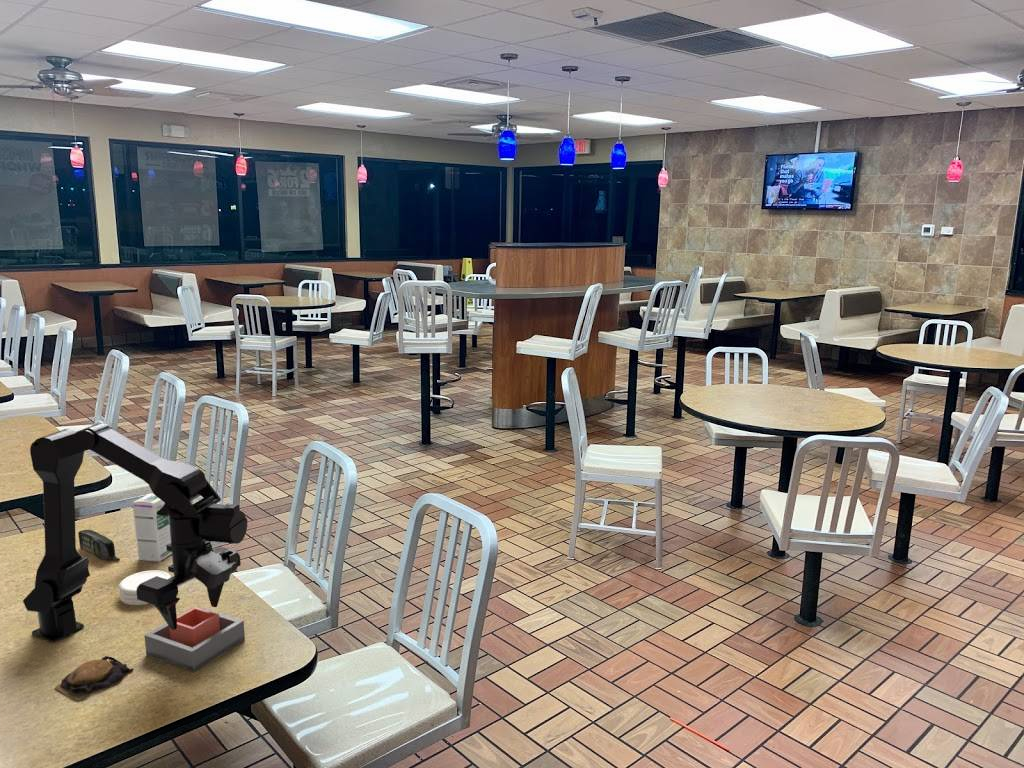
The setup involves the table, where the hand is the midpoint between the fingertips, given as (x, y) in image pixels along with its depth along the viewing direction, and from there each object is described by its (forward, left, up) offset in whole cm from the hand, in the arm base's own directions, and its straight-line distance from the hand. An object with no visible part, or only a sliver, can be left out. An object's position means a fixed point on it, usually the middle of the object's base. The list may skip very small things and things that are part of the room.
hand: (194, 617), depth 141 cm
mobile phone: (-53, +18, -6) cm, 56 cm away
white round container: (-26, +10, -6) cm, 29 cm away
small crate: (0, 0, -5) cm, 5 cm away
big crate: (0, 0, -6) cm, 6 cm away
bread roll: (-7, -15, -7) cm, 18 cm away
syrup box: (-40, +24, -6) cm, 47 cm away
